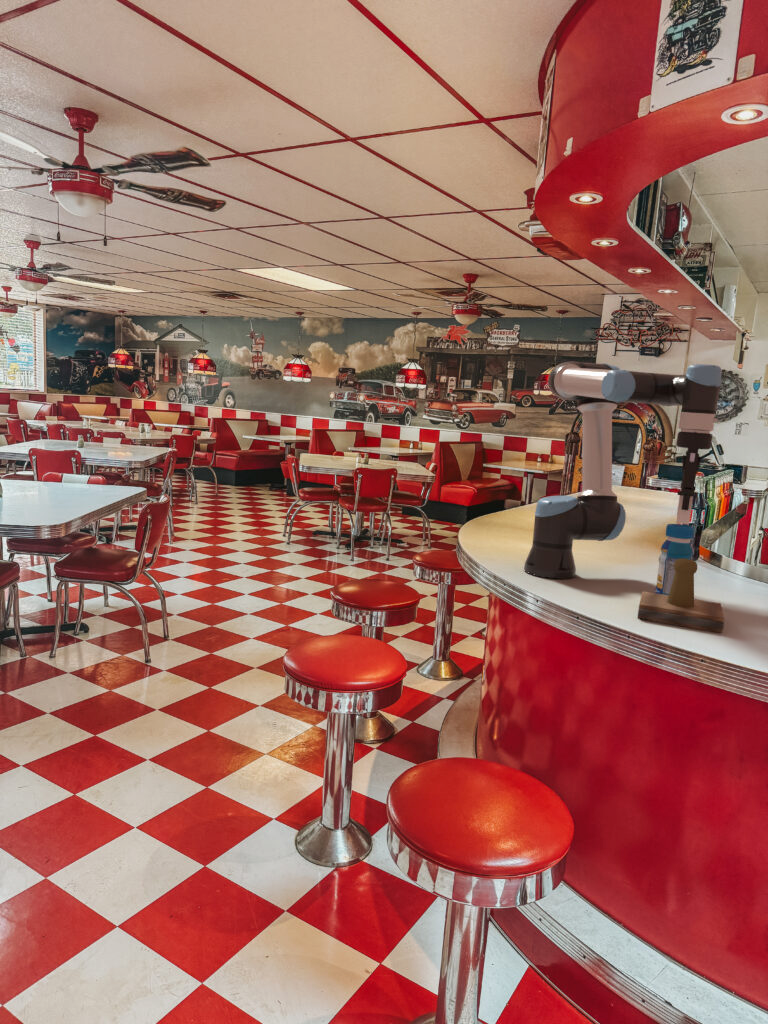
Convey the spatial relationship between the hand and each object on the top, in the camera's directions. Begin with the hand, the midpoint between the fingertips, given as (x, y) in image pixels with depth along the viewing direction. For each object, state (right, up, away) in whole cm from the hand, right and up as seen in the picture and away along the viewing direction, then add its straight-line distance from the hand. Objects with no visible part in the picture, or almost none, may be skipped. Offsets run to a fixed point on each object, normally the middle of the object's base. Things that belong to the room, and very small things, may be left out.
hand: (682, 519), depth 156 cm
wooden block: (-1, -24, 0) cm, 24 cm away
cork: (-1, -20, 0) cm, 21 cm away
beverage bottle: (+5, -22, +18) cm, 29 cm away
